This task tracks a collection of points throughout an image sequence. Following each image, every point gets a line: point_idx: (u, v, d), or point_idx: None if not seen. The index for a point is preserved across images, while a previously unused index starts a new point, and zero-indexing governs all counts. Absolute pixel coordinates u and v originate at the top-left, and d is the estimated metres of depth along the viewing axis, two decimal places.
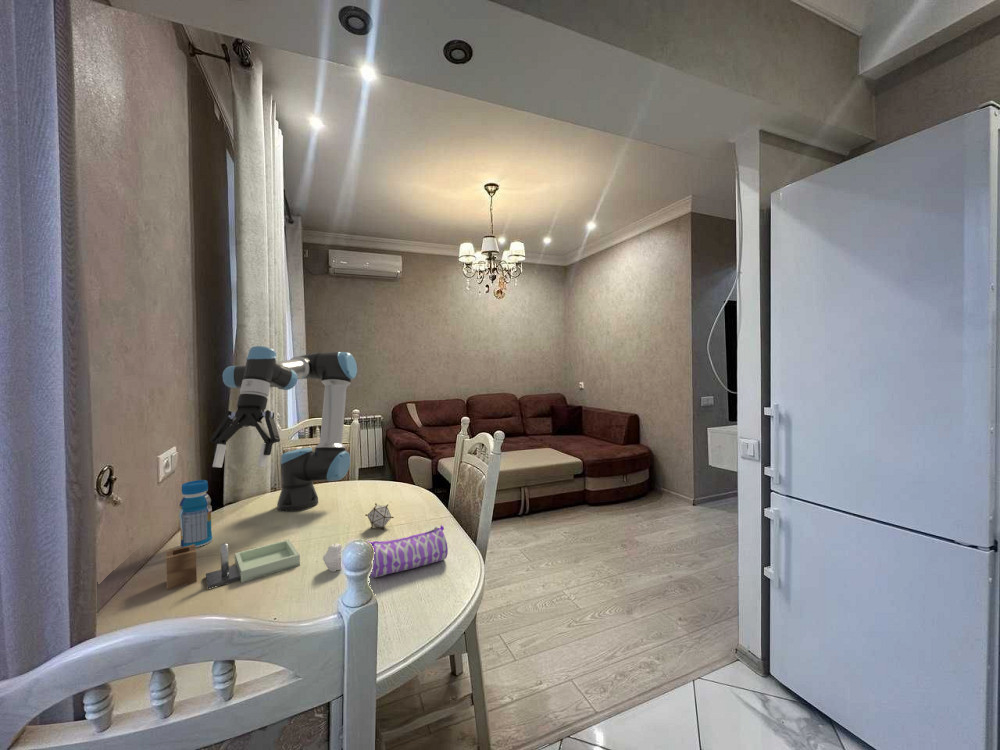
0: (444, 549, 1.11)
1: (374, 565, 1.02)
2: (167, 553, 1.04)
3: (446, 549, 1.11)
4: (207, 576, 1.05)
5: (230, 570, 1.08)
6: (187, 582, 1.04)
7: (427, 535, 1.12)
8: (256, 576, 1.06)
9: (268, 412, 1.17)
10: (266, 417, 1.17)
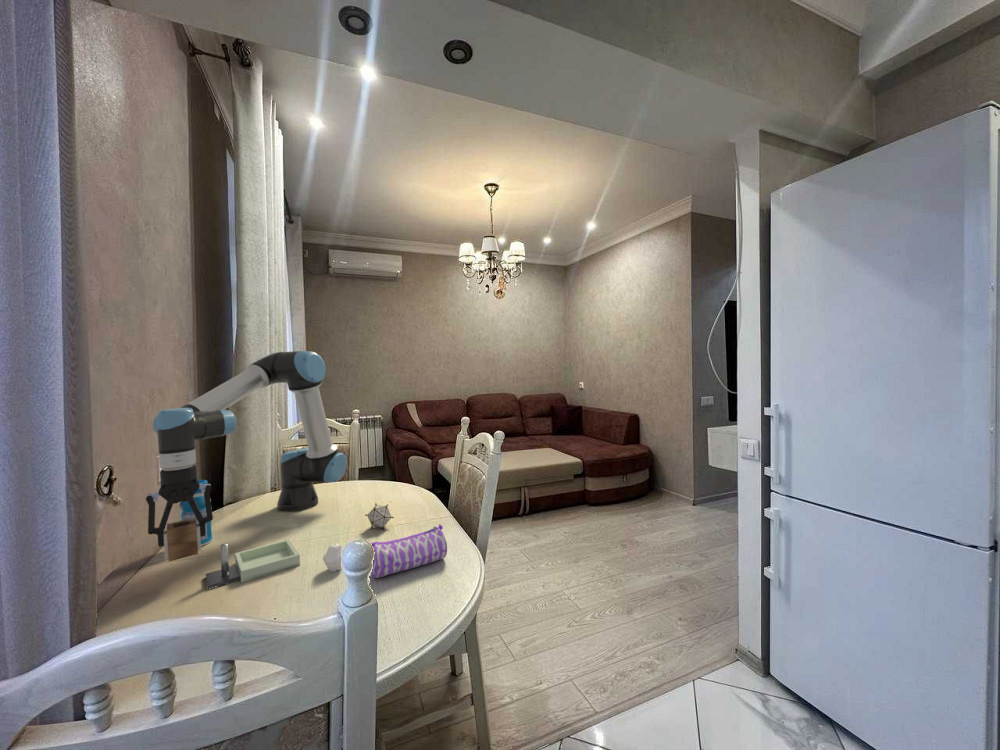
0: (444, 548, 1.12)
1: (375, 566, 1.02)
2: (168, 526, 1.04)
3: (446, 548, 1.12)
4: (207, 576, 1.05)
5: (230, 570, 1.08)
6: (188, 554, 1.04)
7: (426, 534, 1.13)
8: (256, 576, 1.06)
9: (209, 488, 1.08)
10: (206, 493, 1.08)
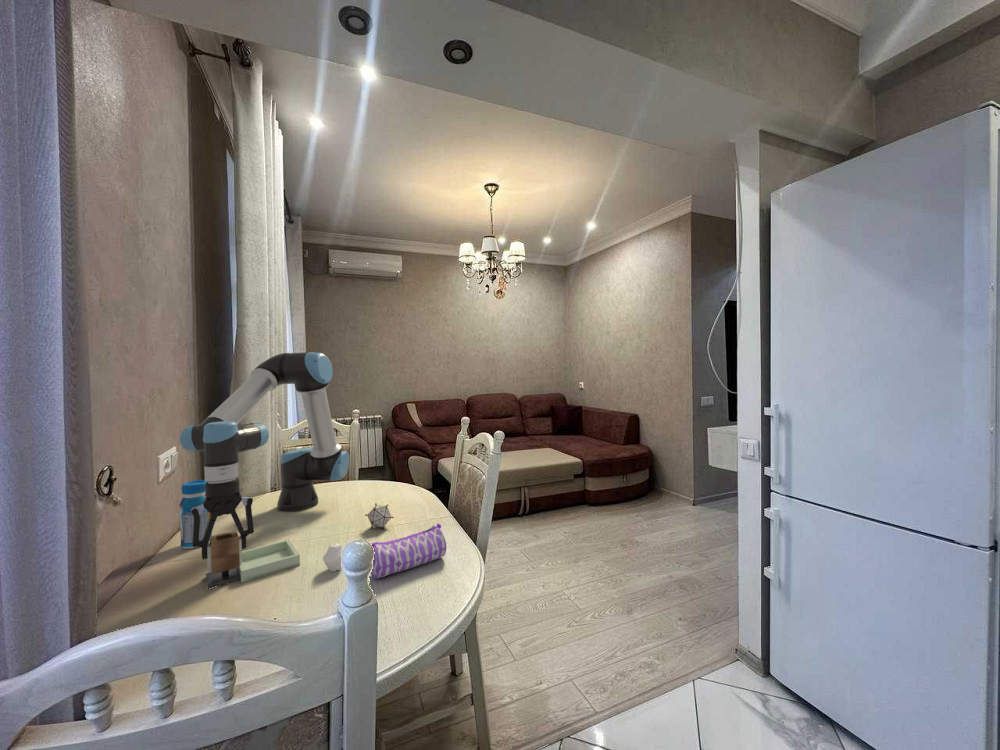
0: (443, 547, 1.13)
1: (377, 566, 1.01)
2: (211, 539, 1.05)
3: (445, 546, 1.13)
4: (207, 576, 1.05)
5: (230, 570, 1.08)
6: (231, 567, 1.05)
7: (425, 534, 1.13)
8: (256, 576, 1.06)
9: (251, 501, 1.09)
10: (248, 506, 1.09)
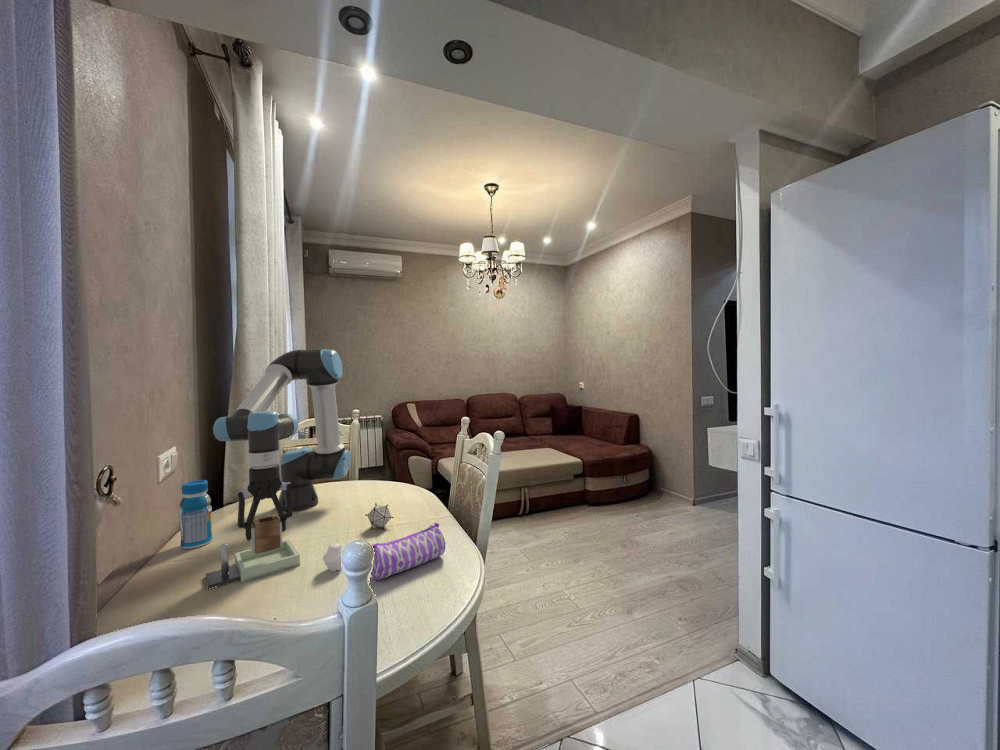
0: (443, 545, 1.14)
1: (380, 567, 1.01)
2: (254, 521, 1.12)
3: (444, 545, 1.14)
4: (207, 576, 1.05)
5: (230, 570, 1.08)
6: (272, 548, 1.12)
7: (425, 533, 1.14)
8: (256, 576, 1.06)
9: (290, 486, 1.16)
10: (287, 491, 1.16)
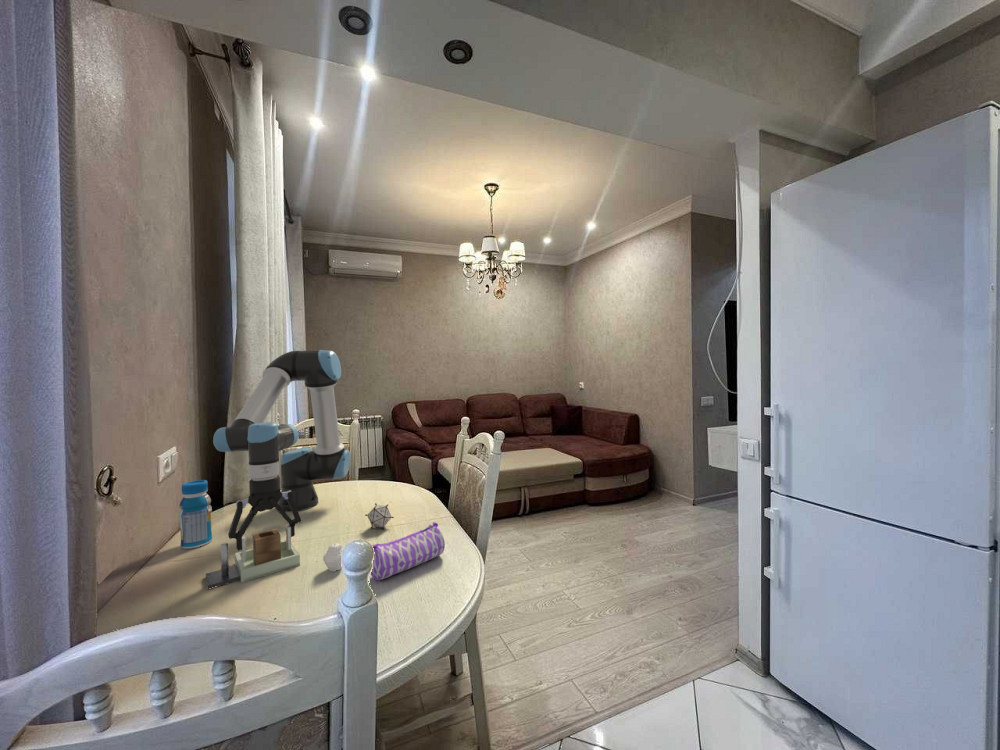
0: (442, 545, 1.14)
1: (381, 567, 1.01)
2: (254, 536, 1.12)
3: (443, 544, 1.15)
4: (207, 576, 1.05)
5: (230, 570, 1.08)
6: None
7: (424, 533, 1.14)
8: (256, 576, 1.06)
9: (291, 494, 1.17)
10: (289, 499, 1.16)
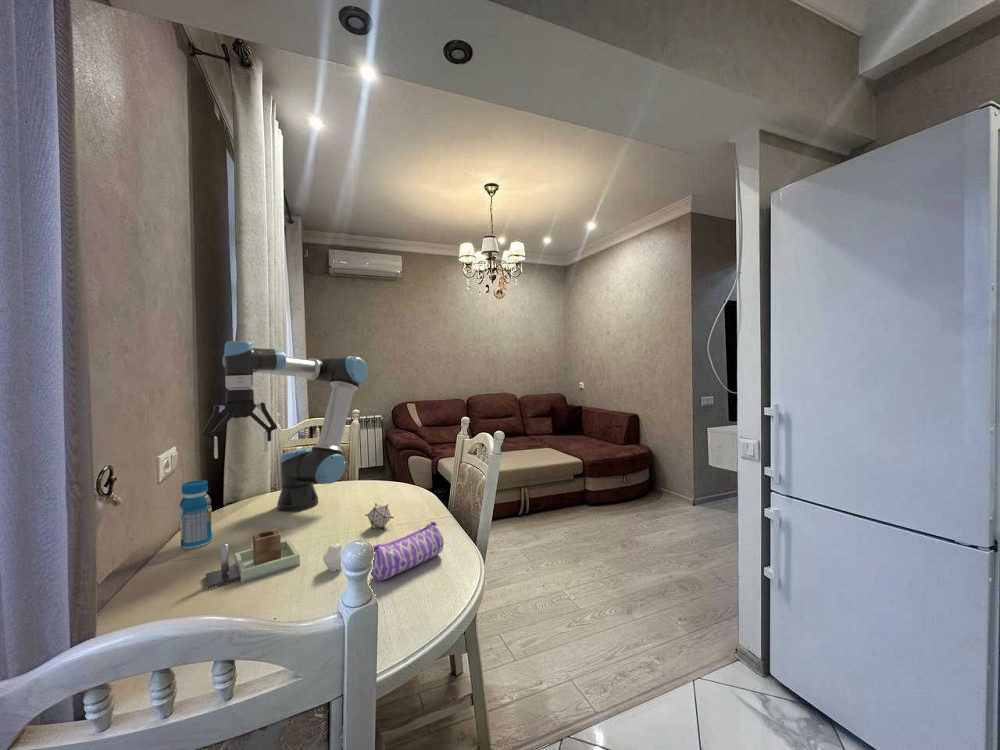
0: (441, 544, 1.15)
1: (383, 568, 1.01)
2: (254, 536, 1.12)
3: (442, 543, 1.15)
4: (207, 576, 1.05)
5: (230, 570, 1.08)
6: None
7: (423, 532, 1.14)
8: (256, 576, 1.06)
9: (264, 404, 1.31)
10: (263, 409, 1.31)
